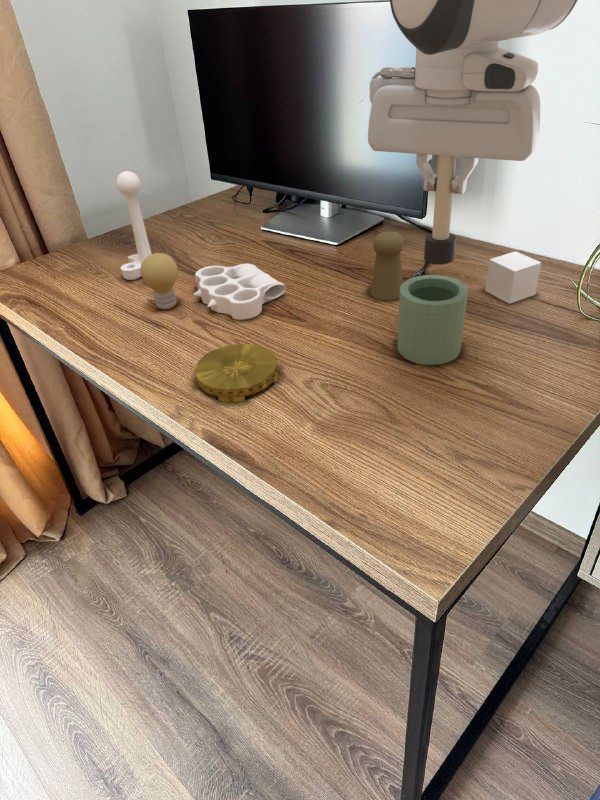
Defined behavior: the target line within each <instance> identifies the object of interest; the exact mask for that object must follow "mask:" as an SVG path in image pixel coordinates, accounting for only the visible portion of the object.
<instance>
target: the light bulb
mask: <svg viewBox="0 0 600 800" xmlns="http://www.w3.org/2000/svg"><path fill="white" fill-rule="evenodd" d="M140 271H141V276H142V277H141V279H142V280H143V282H144V284H146V286H148V287H149V288H150V289H151V290H153V296H154V301H155V305H156V307H157V308H158V309H161V310H169V309H172V308H173V307H175V306H176V305H177V303H178V301H177V297H176V293H175V292H176V291H175V288H174V285H175V283H176V281H177V279H178V276H179V269H178V265H177V263H176V261H175V260H174V258H173V257H172V256H170V255H169V254H166V253H163V252H154V253H152V254H151V255H149V256H147V257H146V258H145V259H144V260H143V261H142V263H141V269H140Z"/></svg>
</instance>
